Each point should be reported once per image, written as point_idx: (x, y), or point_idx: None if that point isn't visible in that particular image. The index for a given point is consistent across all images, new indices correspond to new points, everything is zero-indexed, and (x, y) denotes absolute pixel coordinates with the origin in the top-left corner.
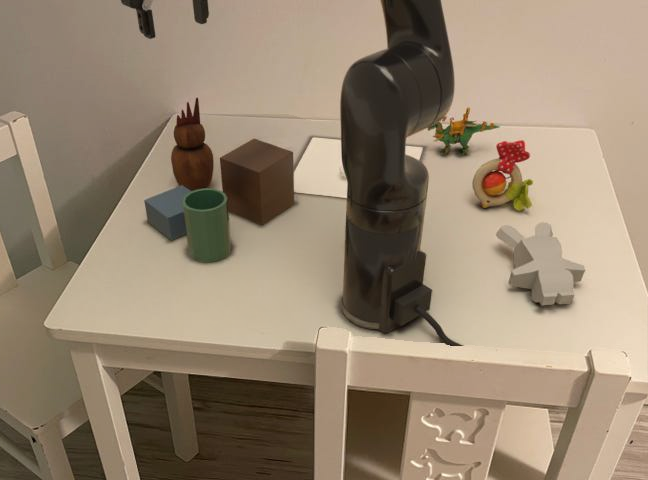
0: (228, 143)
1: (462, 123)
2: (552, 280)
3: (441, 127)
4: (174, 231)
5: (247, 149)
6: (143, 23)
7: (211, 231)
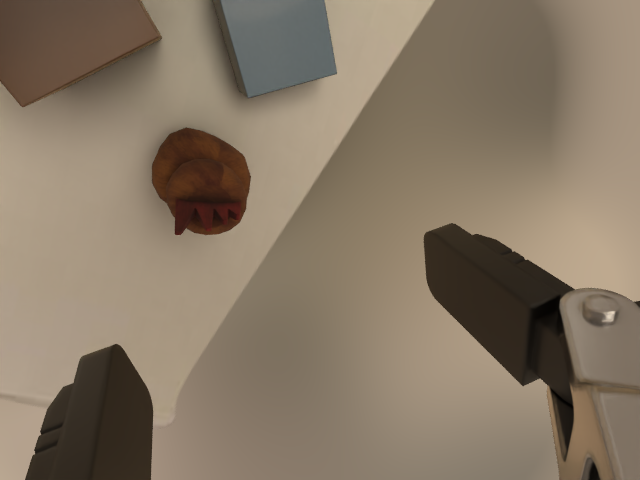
0: (85, 305)
1: None
2: None
3: None
4: None
5: (59, 42)
6: (527, 261)
7: None
